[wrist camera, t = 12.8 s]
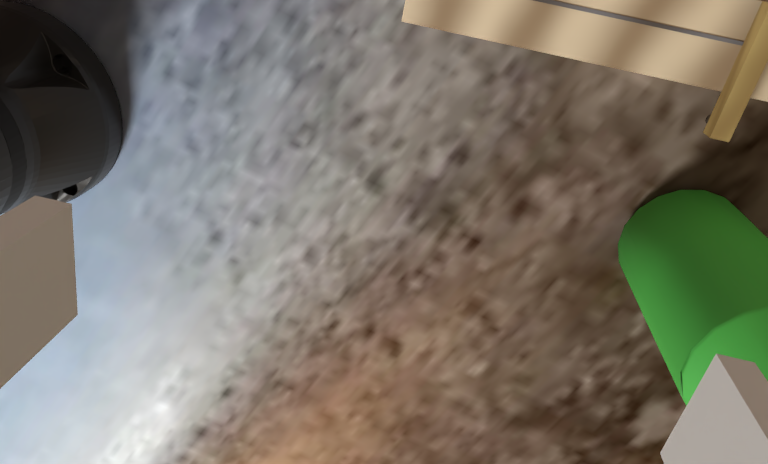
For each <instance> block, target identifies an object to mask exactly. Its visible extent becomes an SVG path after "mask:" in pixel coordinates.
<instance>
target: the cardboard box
mask: <svg viewBox="0 0 768 464" xmlns="http://www.w3.org/2000/svg"><path fill="white" fill-rule="evenodd" d="M759 1H762V3H761V5H760V8H759V10H758V12H757V14H756V16H755V19H754V21H753V23H752V25H751V27H750V30H749V32H748V34H747V36H746V38H745V41H744V43H743V45H742V47H741V50H740V52H739V54H738V56H737V58H736V61H735V63H734V65H733V67H732V69H731V72H730V74H729V76H728V78H727V81H726V83H725V85H724V87H723V89H722V92H721V94H720V96H719V98H718V100H717V103H716V105H715V107H714V109H713V112H712V114H711V115H709V116H708V117H707V118H706V123H707V125H706V127H705V129H704V131H703V133H704V134H706V135H707V136H708V137H709V138H713V139H717V140H722V141H726V142H729V141H730V139H731V137H732V135H733V133H734V131H735V129H736V126H737V124H738V122H739V120H740V118H741V116H742V114H743V112H744V110H745V108H746V105H747V103H748V101H749V99H750V97H751V95H752V93H753V91H754V89H755V87H756V84H757V82H758V80H759V78H760V76H761V74H762V72H763V70H764V68H765V66H766V63H767V61H768V0H759Z"/></svg>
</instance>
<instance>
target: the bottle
mask: <svg viewBox="0 0 768 464" xmlns="http://www.w3.org/2000/svg"><path fill="white" fill-rule="evenodd" d="M618 252H619V263H620V265H621V267H622V270H623V272H624V274H625V276H626V278H627V281H628V283H629V285H630V287H631V289H632V291H633V294H634V296H635V298H636V300H637V302H638V304H639V307H640V309H641V311H642V313H643V315H644V318H645V320H646V322H647V324H648V326H649V328H650V330H651V332H652V335H653V337H654V339H655V341H656V343H657V345H658V347H659V350H660V352H661V354H662V356H663V358H664V360H665V362H666V365H667V367H668V369H669V371H670V373H671V375H672V377H673V379H674V382H675V384H676V386H677V388H678V390H679V392H680V394H681V396H682V398H683V400H684V402H685V404H686V406H687V404H688V403H689V401H690V399H691V397H692V395H693V394H694V392H695V390H696V388H697V386H698V385H699V383H700V381H701V379H702V378H703V376H704V374H705V372H706V370H707V369H708V367H709V365H710V363H711V362H712V360H713V358H714V356H715V354H720V355H725V356H729V357H733V358H738V359H742V360H746V361H751V362H755V363H756V365H757V366H758V368H759V369H760V371H761V372H762V374H763V375H764V377H765V378H766V380H767V381H768V238H767V237H766V236H765V235H764V234H763V233H762V232H761V231H760V230H759V229H758V228H757V227H756V226H755V225H754V224H753V223H752V222H751V221H750V220H749V219H748V218H747V217H746V216H744V215H743V214H742V213H741V212H740V211H739V210H738V209H737V208H736V207H735V206H734V205H733V204H731V203H730V202H729V201H728V200H727V199H726V198H725V197H722V196H719V195H717V194H714V193H711V192H708V191H705V190H678V191H675V192H671V193H668V194H665V195H661V196H658V197H656V198H655V199H653V200H652V201H650V202H648V203H647V204H645V205H644V206H642V207H641V208H639V209H638V210H637V211H636V212H635V214H634V215H633V216H632V217H631V219H630V220H629V221H628V222H627V223H626V225H625V226H624V229H623V232H622V234H621V237H620V240H619V243H618Z"/></svg>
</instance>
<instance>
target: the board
mask: <svg viewBox="0 0 768 464" xmlns="http://www.w3.org/2000/svg"><path fill="white" fill-rule="evenodd" d="M761 3H762V1H759V0H406V1H405V6H404V11H403V16H402V22H407V23H411V24H416V25H420V26H425V27H430V28H434V29H439V30H443V31H448V32H452V33H457V34H461V35H466V36H470V37H475V38H480V39H484V40H489V41H493V42H498V43H502V44H507V45H511V46H516V47H521V48H525V49H530V50H534V51H539V52H543V53H548V54H552V55H557V56H562V57H566V58H571V59H575V60H580V61H584V62H589V63H593V64H598V65H603V66H607V67H612V68H616V69H621V70H625V71H630V72H634V73H639V74H644V75H648V76H653V77H657V78H662V79H666V80H671V81H675V82H680V83H685V84H689V85H694V86H698V87H703V88H707V89H712V90H716V91H721V92H722V89H723V87H724V85H725V83H726V81H727V78H728V76H729V74H730V72H731V69H732V67H733V65H734V63H735V61H736V58H737V56H738V54H739V52H740V50H741V47H742V45H743V43H744V41H745V38H746V36H747V34H748V32H749V30H750V27H751V25H752V23H753V21H754V19H755V16H756V14H757V12H758V10H759V8H760V5H761ZM750 98H753V99H757V100H762V101H767V102H768V61H767V63H766V66H765V68H764V70H763V72H762V74H761V76H760V78H759V80H758V82H757V84H756V87H755V89H754V91H753V93H752V95H751V97H750Z"/></svg>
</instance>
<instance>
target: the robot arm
mask: <svg viewBox="0 0 768 464" xmlns="http://www.w3.org/2000/svg"><path fill="white" fill-rule="evenodd" d="M121 138H122V119H121V112H120V106H119V102H118V99H117V95H116V92H115V90H114V87H113V85H112V82H111V80H110V78H109V76H108V74H107V72H106V71H105V69H104V67H103V66H102V64H101V62H100V61H99V60H98V58H97V57H96V55H95V54H94V53H93V52H92V50H91V49H90V48H89V47H88V46H87V44H86V43H85V42H84V41H83V40H82V39H81V38H80V37H79V36H78V35H77V34H76V33H74V32H73V31H72V30H71V29H70V28H68V27H67V26H66V25H64V24H63V23H62V22H60V21H59V20H57V19H56V18H54V17H52V16H51V15H49V14H47V13H45V12H43V11H41V10H38V9H36V8H34V7H31V6H28V5H25V4H21V3H16V2H11V1H0V214H2V213H4V214H3V215H1V216H0V388H1V387H2V386H4V385H5V384H6V383H7V382H8V381H9V380H10V379H11V378H12V377H13V376H14V375H15V374H16V373H17V372H18V371H19V370H20V369H21V368H22V367H23V366H24V365H25V364H27V363H28V362H29V361H30V360H31V359H32V358H33V357H34V356H35V355H36V354H37V353H38V352H39V351H40V350H41V349H42V348H43V347H44V346H45V345H46V344H47V343H48V342H50V341H51V340H52V339H53V338H54V337H55V336H56V335H57V334H58V333H59V332H60V331H61V330H62V329H63V328H64V327H65V326H66V325H67V324H68V323H69V322H70V321H71V320H73V319H74V318H75V317H76V316H77V315H78V314H77V296H76V277H75V259H74V240H73V222H72V204H70V203H65V202H68V201H71V200H73V199H75V198H77V197H78V196H80V195H82V194H83V193H85V192H86V191H88V190H89V189H91V188H92V187H94V186H95V185H97V184H98V183H99V182H100V181H101V180H103V179H104V177H105V176H106V175H107V174H108V173H109V171H110V170H111V168H112V167H113V165H114V163H115V161H116V158H117V156H118V153H119V149H120V145H121ZM660 454H661V457H662V459H663V462H664V464H768V381H767V380H766V378H765V377H764V375H763V374H762V372H761V371H760V369H759V368H758V366H757V365H756V363H755V362H751V361H746V360H742V359H738V358H733V357H729V356H725V355H720V354H715V356H714V358H713V360H712V362H711V363H710V365H709V367H708V369H707V370H706V372H705V374H704V376H703V378H702V379H701V381H700V383H699V385H698V386H697V388H696V390H695V392H694V394H693V395H692V397H691V399H690V401H689V403H688V404H687V406H686V408H685V410H684V411H683V413H682V415H681V417H680V419H679V420H678V422H677V424H676V426H675V427H674V429H673V431H672V433H671V435H670V436H669V438H668V440H667V442H666V444H665V445H664V447H663V449H662V451H661V452H660Z"/></svg>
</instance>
